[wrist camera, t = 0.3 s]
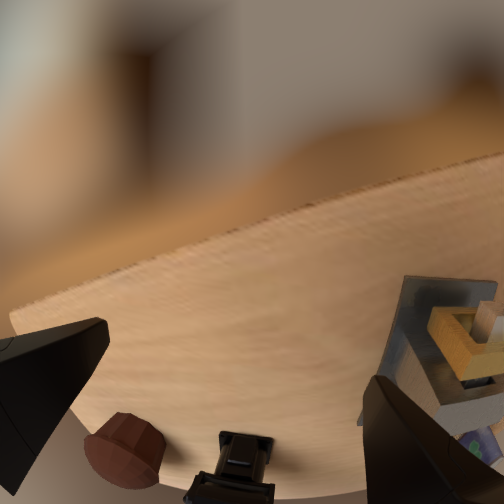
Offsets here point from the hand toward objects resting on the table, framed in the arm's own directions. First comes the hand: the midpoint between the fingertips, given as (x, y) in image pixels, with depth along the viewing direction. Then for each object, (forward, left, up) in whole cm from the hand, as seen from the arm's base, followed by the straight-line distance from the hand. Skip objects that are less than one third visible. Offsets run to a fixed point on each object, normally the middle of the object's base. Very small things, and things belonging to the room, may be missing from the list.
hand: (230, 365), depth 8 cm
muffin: (-30, +17, -15) cm, 37 cm away
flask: (-27, -32, -15) cm, 44 cm away
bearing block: (-11, -17, -14) cm, 24 cm away
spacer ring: (-4, -17, -8) cm, 19 cm away
